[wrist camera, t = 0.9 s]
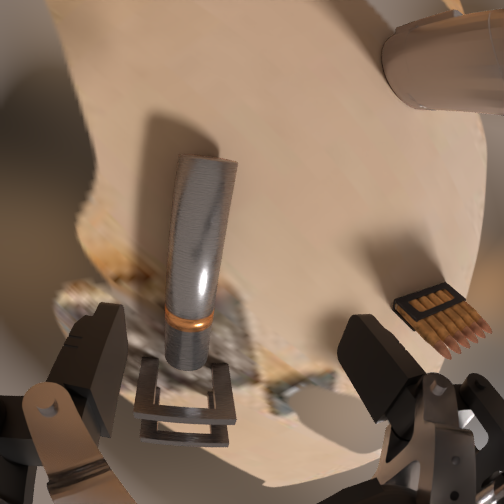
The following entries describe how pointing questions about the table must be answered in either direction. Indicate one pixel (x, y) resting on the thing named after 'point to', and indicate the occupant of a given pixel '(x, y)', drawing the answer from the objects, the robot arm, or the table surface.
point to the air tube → (195, 255)
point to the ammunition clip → (441, 318)
